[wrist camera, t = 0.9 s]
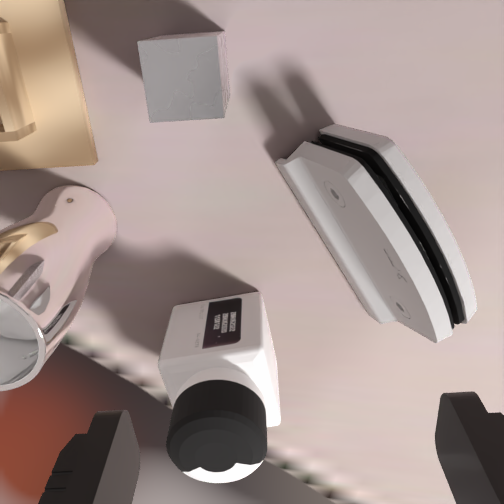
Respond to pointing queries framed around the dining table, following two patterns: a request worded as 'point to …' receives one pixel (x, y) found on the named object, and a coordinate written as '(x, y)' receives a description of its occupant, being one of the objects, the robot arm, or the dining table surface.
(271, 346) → the container
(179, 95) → the brushed grey block
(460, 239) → the dining table surface
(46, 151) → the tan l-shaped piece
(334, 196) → the card swipe reader
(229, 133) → the dining table surface
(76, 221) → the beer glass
